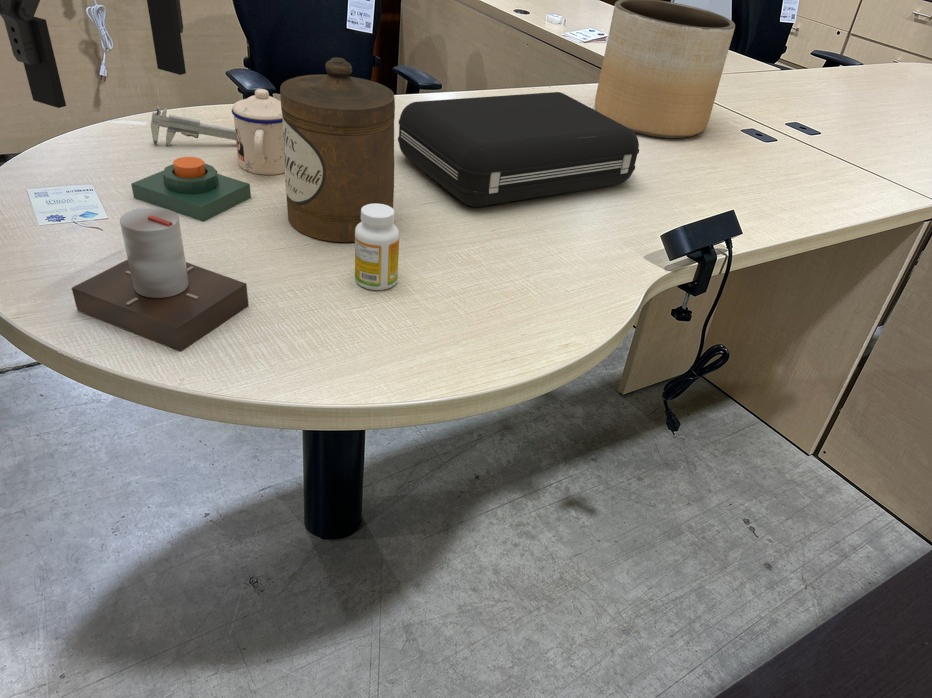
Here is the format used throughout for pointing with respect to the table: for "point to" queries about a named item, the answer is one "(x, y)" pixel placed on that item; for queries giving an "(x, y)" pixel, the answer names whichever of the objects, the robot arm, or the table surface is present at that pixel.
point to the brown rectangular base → (162, 305)
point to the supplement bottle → (376, 248)
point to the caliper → (185, 127)
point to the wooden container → (336, 150)
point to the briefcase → (516, 146)
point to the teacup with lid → (259, 134)
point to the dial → (155, 251)
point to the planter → (662, 67)
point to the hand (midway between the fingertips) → (115, 86)
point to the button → (189, 167)
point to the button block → (192, 192)
